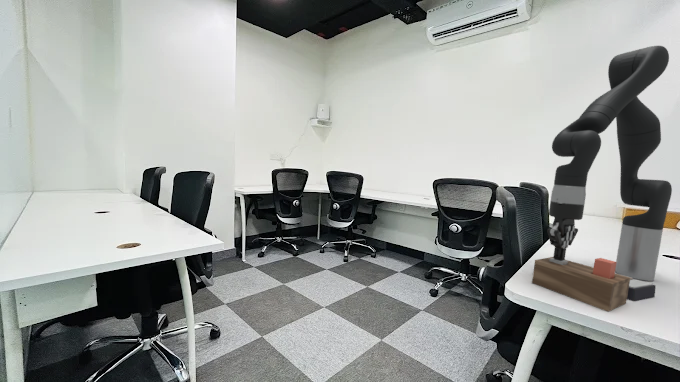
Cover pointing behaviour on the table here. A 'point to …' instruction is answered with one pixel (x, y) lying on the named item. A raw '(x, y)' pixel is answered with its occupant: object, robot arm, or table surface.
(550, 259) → the grey plug
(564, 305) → the table surface
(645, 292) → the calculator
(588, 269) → the block
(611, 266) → the red plug
